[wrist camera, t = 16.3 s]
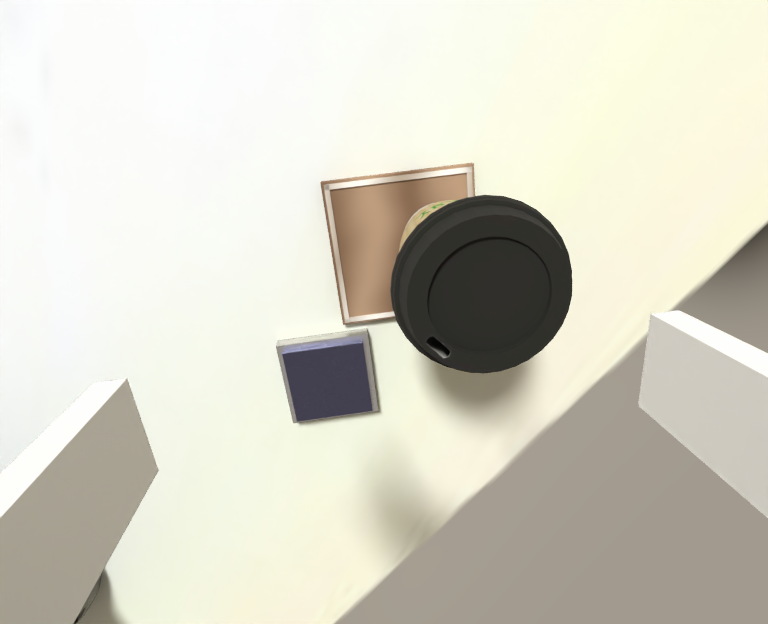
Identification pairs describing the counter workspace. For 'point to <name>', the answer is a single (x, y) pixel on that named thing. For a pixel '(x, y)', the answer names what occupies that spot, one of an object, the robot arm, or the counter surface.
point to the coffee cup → (480, 282)
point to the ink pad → (328, 375)
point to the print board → (380, 229)
